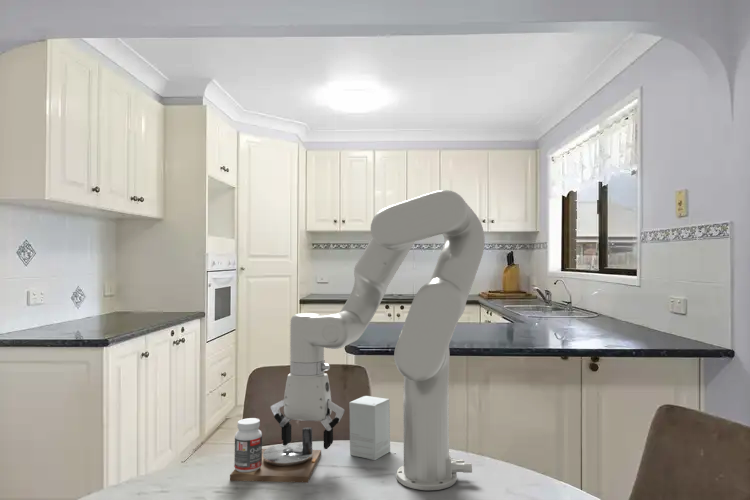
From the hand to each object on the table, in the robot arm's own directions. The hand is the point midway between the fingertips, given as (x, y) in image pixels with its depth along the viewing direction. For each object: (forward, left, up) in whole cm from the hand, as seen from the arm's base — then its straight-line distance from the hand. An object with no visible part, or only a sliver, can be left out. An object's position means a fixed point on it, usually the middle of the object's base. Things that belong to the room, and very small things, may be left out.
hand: (307, 445), depth 113 cm
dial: (+4, -1, -3) cm, 5 cm away
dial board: (+6, +1, -5) cm, 8 cm away
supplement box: (-14, -9, -5) cm, 17 cm away
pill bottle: (+11, +6, -3) cm, 13 cm away
